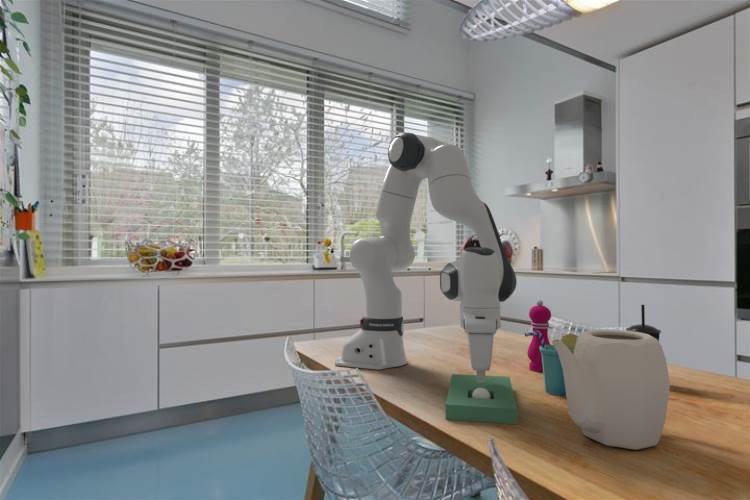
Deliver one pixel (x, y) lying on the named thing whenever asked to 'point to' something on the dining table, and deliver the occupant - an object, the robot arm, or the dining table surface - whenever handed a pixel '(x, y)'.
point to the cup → (554, 363)
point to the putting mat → (481, 400)
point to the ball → (481, 393)
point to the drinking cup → (645, 327)
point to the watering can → (616, 386)
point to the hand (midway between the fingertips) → (481, 381)
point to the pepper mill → (539, 323)
